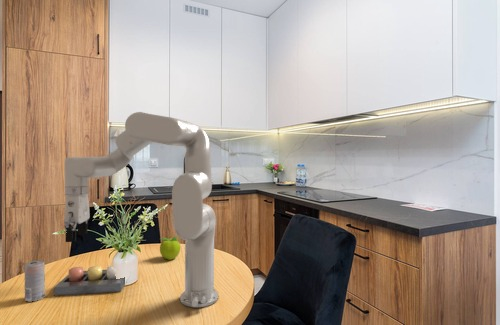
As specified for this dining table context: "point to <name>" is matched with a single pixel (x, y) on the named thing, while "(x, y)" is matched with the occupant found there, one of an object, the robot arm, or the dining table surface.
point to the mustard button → (95, 273)
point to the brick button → (76, 274)
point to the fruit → (170, 248)
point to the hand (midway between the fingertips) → (76, 237)
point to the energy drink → (34, 280)
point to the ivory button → (111, 273)
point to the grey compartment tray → (89, 285)
